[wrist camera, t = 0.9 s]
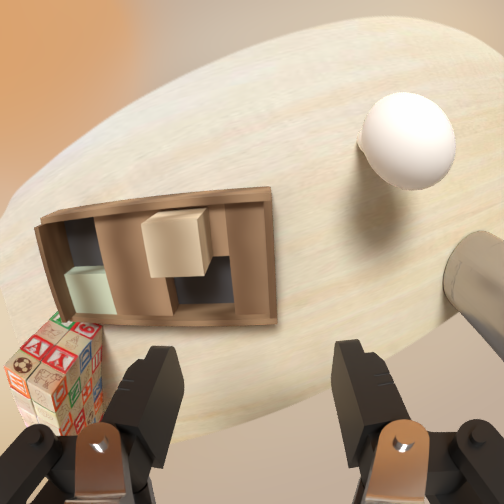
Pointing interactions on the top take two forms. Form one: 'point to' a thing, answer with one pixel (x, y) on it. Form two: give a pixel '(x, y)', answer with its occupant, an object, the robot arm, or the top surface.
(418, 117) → the lightbulb
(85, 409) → the stack of blocks
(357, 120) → the top surface
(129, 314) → the board
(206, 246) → the beech block
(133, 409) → the robot arm
